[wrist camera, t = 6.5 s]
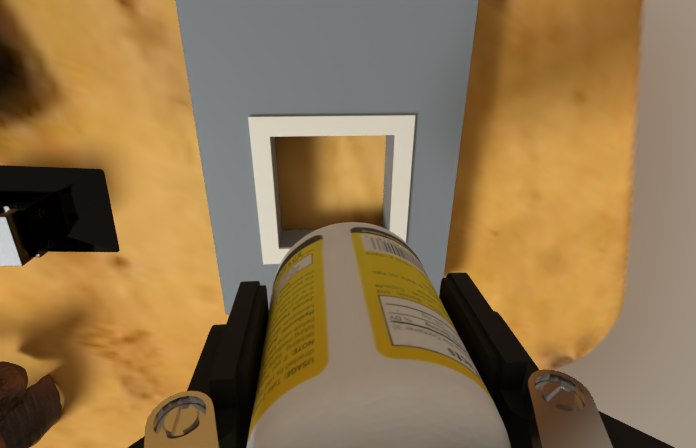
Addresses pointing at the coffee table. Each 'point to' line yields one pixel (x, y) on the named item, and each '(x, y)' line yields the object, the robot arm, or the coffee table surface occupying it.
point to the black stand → (53, 213)
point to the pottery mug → (25, 407)
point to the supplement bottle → (365, 353)
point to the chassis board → (325, 112)
